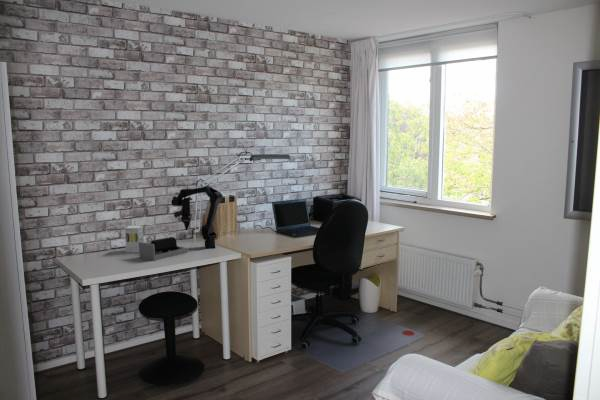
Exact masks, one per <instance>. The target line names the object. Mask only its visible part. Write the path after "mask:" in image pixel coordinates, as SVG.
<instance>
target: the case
mask: <svg viewBox="0 0 600 400" xmlns="http://www.w3.org/2000/svg"><path fill="white" fill-rule="evenodd" d="M177 247H178V250H172V251H170V250H169V252H166V253H162V251H158V252H155V245H154V244H151V243H149V242H148V243H147V242H144V243H143V242H139V258H140V259H143V260H150V261H153V262H154V261H155V262H156V261H158V260H162V259H167V258H170V257H174V256H178V255H181V254H186V253H188V247H185V246H178V245H177ZM161 253H162V254H161Z"/></svg>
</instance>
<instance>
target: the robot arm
mask: <svg viewBox="0 0 600 400" xmlns="http://www.w3.org/2000/svg"><path fill="white" fill-rule="evenodd" d="M200 193H201V194H202V193H205V194H206V195H207V197H209V204H210V206H209V210H208V213H207V214H208V215H207V218H206V222H205V224H202V226H201V230H200V233H201V235H202V238H203V240H204V248H205V249H216V238H217V237H218V235H217V233H216V232H215V227H214V222H215V217H216V214H217V210H218V206H219V204H220V203H221V201H222V199H223V194H222V193H221V192H220V191H218V190H217V189H215V188H213V187H211V186H210V185H206V186H201V187H195V188H188V187H187V188H182V189H180V190H179V193H178V195H176V196H172V199H171V202H170V203H171V206H173V207H181V209H180V210H179V211H177V210H176V211H175V212H174V213H173V216H174V217H175V219H176V218H178V217H180V221H181V222H182V223H183V225H184V229H185V231H187V230H188V228H189V227H190V223H191V220H192V217H193V215H192V213H191V201H193V198H192V197H191V196H193V195H195V194H200Z"/></svg>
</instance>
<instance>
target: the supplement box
mask: <svg viewBox="0 0 600 400" xmlns="http://www.w3.org/2000/svg"><path fill="white" fill-rule="evenodd" d="M124 235H125V236H124V239H125V253H126V254H128V253H130V254H131V253H135V254H137V253H139V242H143V243H145V242H144V226H143V225H128V226H126V227H124Z"/></svg>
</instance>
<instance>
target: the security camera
mask: <svg viewBox="0 0 600 400" xmlns="http://www.w3.org/2000/svg"><path fill="white" fill-rule="evenodd" d="M150 244H154V245H155V252H158V251H162V253H166V252H169V250H170V251H172V250H178V247H177V246H178V245H177V239H176V237H172V236H169V237H164V238H160V239H159V238H158V239H154V240H151V242H150ZM162 253H161V254H162Z"/></svg>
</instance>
